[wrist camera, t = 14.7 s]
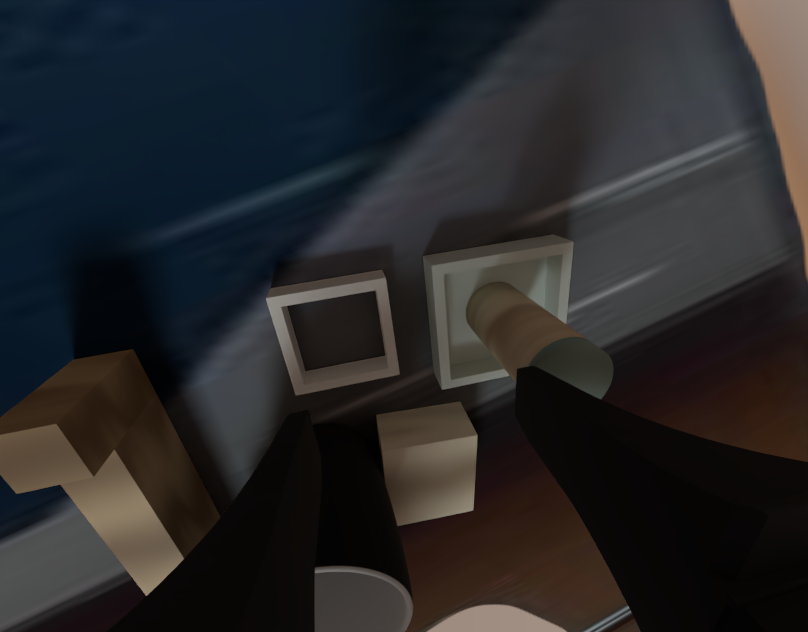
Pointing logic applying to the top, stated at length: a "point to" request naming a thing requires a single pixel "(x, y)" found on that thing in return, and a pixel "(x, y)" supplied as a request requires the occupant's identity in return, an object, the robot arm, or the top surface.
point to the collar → (342, 372)
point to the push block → (428, 461)
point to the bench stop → (111, 461)
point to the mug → (357, 542)
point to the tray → (470, 270)
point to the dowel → (535, 339)
